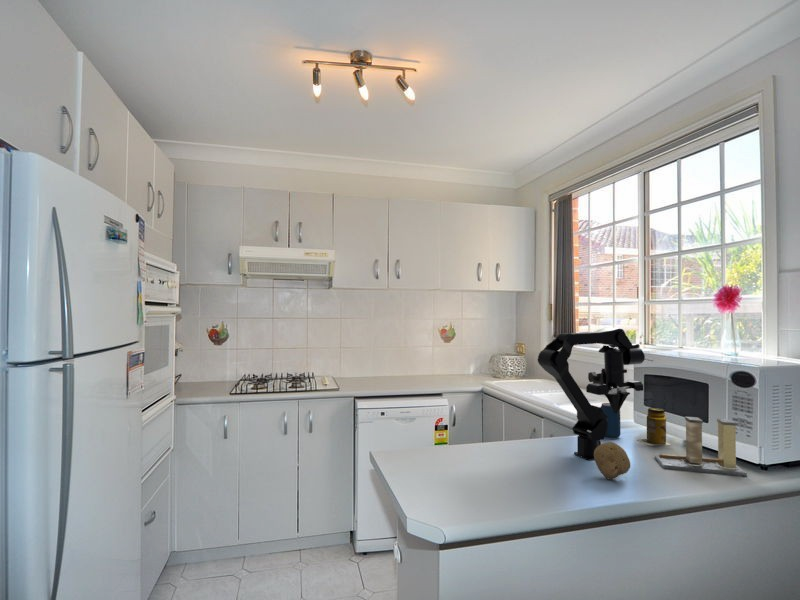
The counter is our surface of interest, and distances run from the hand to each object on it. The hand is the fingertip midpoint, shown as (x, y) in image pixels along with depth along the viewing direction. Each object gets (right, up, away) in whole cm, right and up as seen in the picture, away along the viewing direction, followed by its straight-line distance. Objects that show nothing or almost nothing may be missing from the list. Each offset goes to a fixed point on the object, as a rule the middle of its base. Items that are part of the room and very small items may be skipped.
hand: (615, 413), depth 146 cm
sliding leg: (+18, -11, -12) cm, 24 cm away
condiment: (+20, -14, +13) cm, 27 cm away
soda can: (+7, -14, +19) cm, 25 cm away
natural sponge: (-12, -12, -23) cm, 29 cm away
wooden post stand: (+19, -13, -13) cm, 26 cm away
